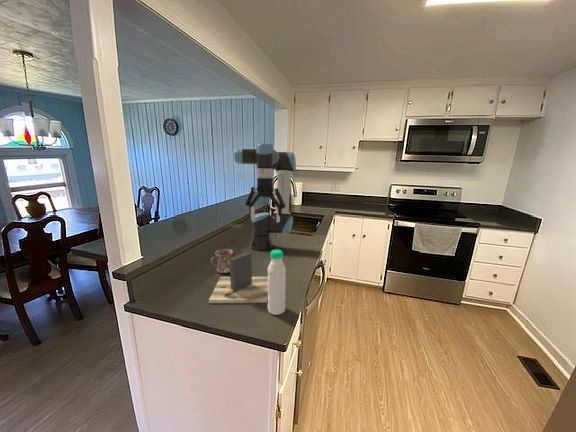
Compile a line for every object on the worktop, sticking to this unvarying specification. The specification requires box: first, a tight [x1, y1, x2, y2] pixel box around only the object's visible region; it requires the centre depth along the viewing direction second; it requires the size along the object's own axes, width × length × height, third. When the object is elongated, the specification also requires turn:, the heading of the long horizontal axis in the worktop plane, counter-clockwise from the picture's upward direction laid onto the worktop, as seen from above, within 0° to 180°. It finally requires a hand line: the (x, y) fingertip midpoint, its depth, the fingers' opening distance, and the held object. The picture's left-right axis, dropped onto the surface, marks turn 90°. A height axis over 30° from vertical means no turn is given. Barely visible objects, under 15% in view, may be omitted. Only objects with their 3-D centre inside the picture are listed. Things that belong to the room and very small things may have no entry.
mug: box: [210, 248, 234, 274], centre depth 126 cm, size 12×9×11 cm
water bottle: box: [267, 249, 287, 316], centre depth 92 cm, size 7×7×25 cm
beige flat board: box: [208, 276, 268, 304], centre depth 109 cm, size 20×24×2 cm
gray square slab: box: [224, 251, 253, 295], centre depth 105 cm, size 3×14×15 cm, turn 140°
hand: (265, 220), depth 118 cm, fingers open, 13 cm apart
